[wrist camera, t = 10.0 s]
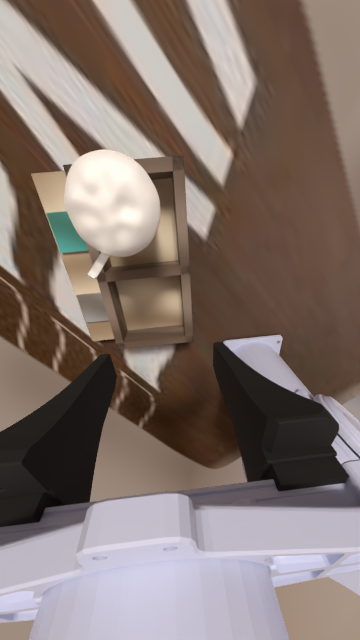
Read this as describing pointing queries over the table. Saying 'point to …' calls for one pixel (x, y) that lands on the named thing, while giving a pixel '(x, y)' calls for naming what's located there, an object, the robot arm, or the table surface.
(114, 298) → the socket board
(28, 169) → the table surface
